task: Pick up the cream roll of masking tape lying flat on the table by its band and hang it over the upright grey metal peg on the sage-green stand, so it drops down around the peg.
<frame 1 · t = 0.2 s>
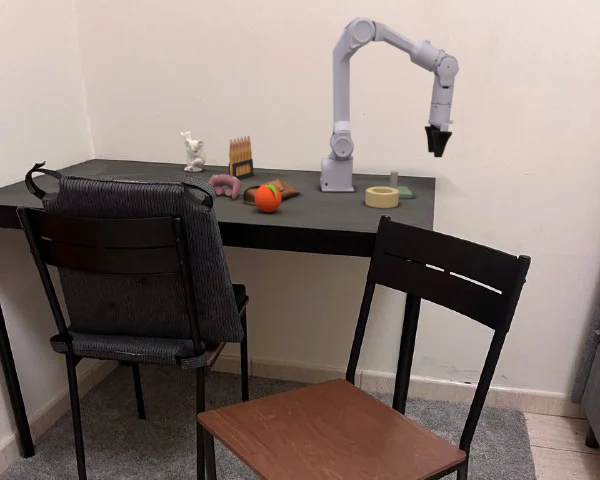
hand: (434, 154, 180), 10 cm above the table, tool pointing down, fingers open, 7 cm apart
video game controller: (223, 197, 175), on the table
sunglasses case: (272, 199, 174), on the table
masking tape roll: (381, 203, 170), on the table
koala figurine: (194, 171, 204), on the table
peg stand: (392, 194, 180), on the table
clementine: (269, 213, 161), on the table
ammunition clip: (241, 178, 196), on the table
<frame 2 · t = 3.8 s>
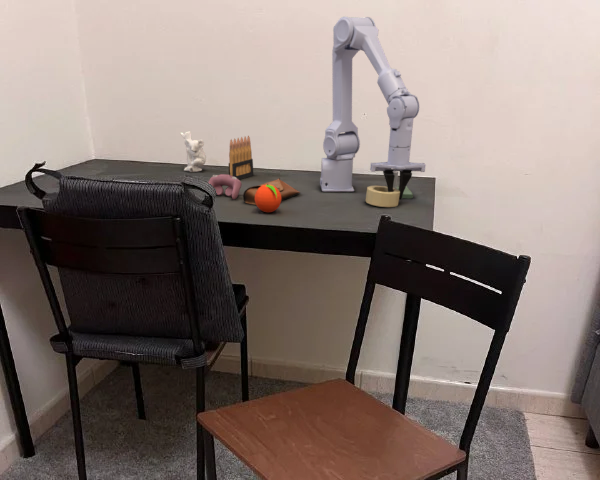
hand: (394, 198, 169), 1 cm above the table, tool pointing down, fingers closed on masking tape roll, 2 cm apart
masking tape roll: (381, 202, 170), on the table, touching gripper
everything else where it was.
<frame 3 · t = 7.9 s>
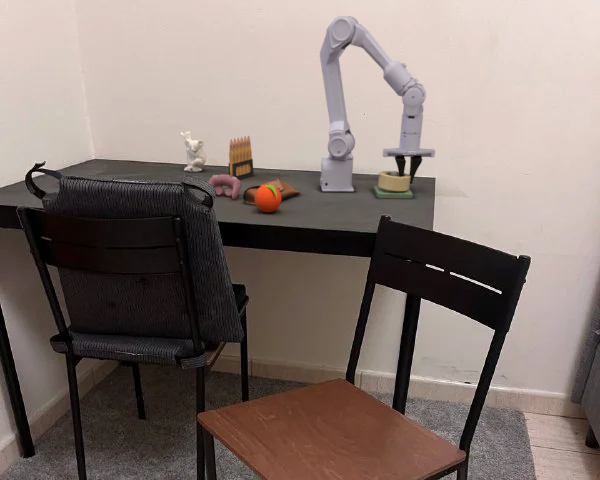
hand: (405, 183, 179), 3 cm above the table, tool pointing down, fingers closed on masking tape roll, 2 cm apart
masking tape roll: (393, 187, 179), point 2 cm above the table, touching gripper
everything else where it was.
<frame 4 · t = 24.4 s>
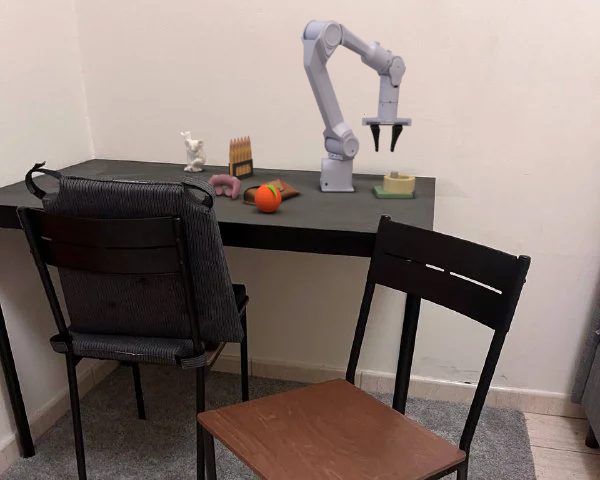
hand: (384, 151, 187), 9 cm above the table, tool pointing down, fingers open, 4 cm apart
masking tape roll: (398, 189, 180), point 1 cm above the table, touching peg stand
everything else where it was.
at the end: masking tape roll 1.6 cm off-centre on the peg stand, point 1.2 cm above the peg stand's base; the gripper is holding nothing; masking tape roll tilted 0° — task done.
